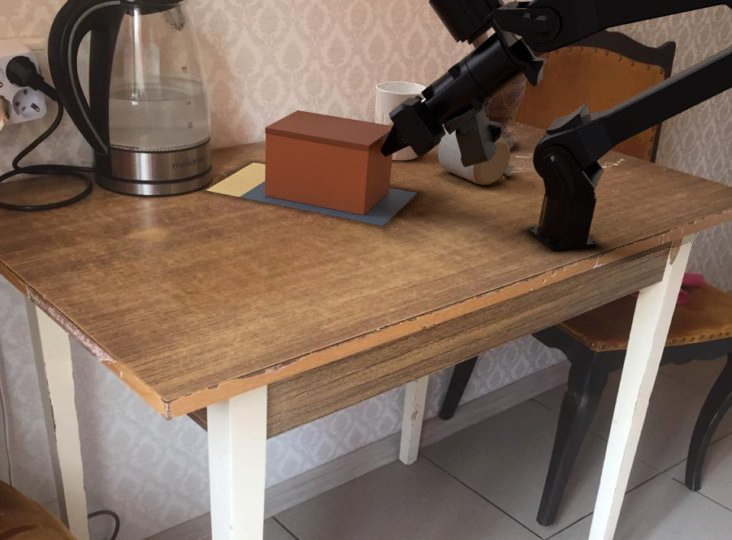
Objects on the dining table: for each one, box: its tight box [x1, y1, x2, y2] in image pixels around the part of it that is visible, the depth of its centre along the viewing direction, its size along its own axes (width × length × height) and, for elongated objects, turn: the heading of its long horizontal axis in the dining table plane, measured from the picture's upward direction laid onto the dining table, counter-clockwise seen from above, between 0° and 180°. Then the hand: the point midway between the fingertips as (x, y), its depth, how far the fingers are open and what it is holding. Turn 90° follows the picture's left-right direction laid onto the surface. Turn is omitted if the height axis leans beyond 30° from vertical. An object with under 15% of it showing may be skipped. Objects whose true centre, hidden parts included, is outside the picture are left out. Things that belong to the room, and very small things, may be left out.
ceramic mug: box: [437, 130, 514, 186], centre depth 124 cm, size 11×8×8 cm
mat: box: [205, 162, 418, 227], centre depth 117 cm, size 25×14×1 cm, turn 68°
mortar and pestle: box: [471, 31, 528, 150], centre depth 134 cm, size 12×9×20 cm
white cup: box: [374, 80, 428, 161], centre depth 131 cm, size 8×8×10 cm
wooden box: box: [264, 110, 393, 215], centre depth 114 cm, size 14×10×9 cm
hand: (383, 153), depth 110 cm, fingers closed, pressing on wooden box
